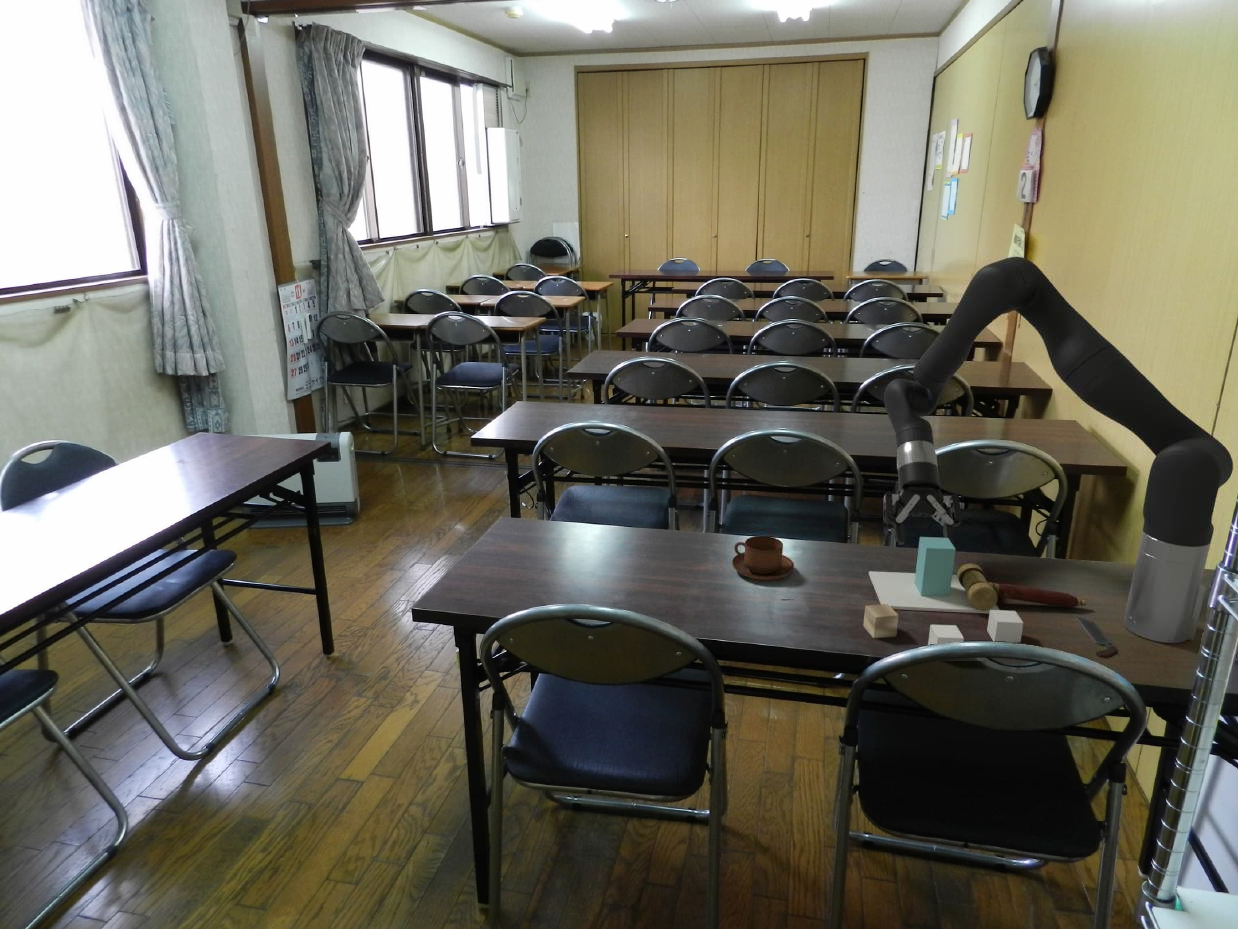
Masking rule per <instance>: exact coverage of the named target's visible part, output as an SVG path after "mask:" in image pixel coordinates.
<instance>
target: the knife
mask: <svg viewBox="0 0 1238 929" xmlns="http://www.w3.org/2000/svg"><path fill="white" fill-rule="evenodd" d="M1073 617H1074V619H1075V620H1076V621H1077V622H1078V623H1079V625H1080V626H1081V627H1082V628H1083V630H1084V631H1085V633H1086V634H1087V635H1088V637H1089V638H1090V639H1091V641H1092V642H1093V644H1096V645H1097V646H1098V645H1099V646H1105V647H1107V649H1102V650H1097V651H1096V652H1095V655H1096V657H1098V658H1103V659H1106V658H1107V659H1108V658H1111V657H1113V656H1115V655H1117V653H1118V648H1117V647H1116V646H1115V644H1114V643H1113V642H1112V641H1111V640H1109V638H1108V637H1107V636H1106V634H1105V633H1104V632H1103V630H1102V629H1101V628H1100V627H1099V626H1098V624H1097V623H1096V622H1095V621H1092V620H1090V619H1087V618H1085V617H1082V616H1080V615H1077V614H1073Z"/></svg>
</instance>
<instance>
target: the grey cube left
mask: <svg viewBox="0 0 1238 929" xmlns="http://www.w3.org/2000/svg"><path fill="white" fill-rule="evenodd" d="M987 623H988V624H987V627H986V628H987V629H986V630H987V633H988V634H989V636H990V638H991V639H992V641H993V642H994V641H1006V642H1020V643H1021V641H1022V634H1023V629H1024V622H1023V620H1022V619H1021V617H1020V615H1019V614H1018V613H1017V612H1016V610H1003V609H1002V610H1001V609H999V610H990V614H988V622H987Z"/></svg>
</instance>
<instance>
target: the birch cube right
mask: <svg viewBox="0 0 1238 929" xmlns="http://www.w3.org/2000/svg"><path fill="white" fill-rule="evenodd" d="M864 606H865V607H864V615H863V617H864V618H863V628H864V629H865V630H866V631H867V633H868V634H869V635H870V636H871V638H873V639H878V638H880V639H881V638H890V637H891V638H892V637H897V633H898V623H899V614H898V613H897V612H896V611H895V609H892V608H891V607H890V606H889V605H888V604H881V603H879V604H871V605H870V604H869V605H864Z"/></svg>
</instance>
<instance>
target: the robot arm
mask: <svg viewBox="0 0 1238 929" xmlns="http://www.w3.org/2000/svg"><path fill="white" fill-rule="evenodd" d="M1013 311H1015V312H1017V313H1018V314H1019V315H1020V316H1021V317H1023V318H1024V319H1025V320H1026V321H1027V322H1028V323H1029V324H1030V325H1031V326H1032V327H1033V328H1034V329H1035V330H1036V332H1037V333H1038V335H1039V336H1040V337H1041V339H1042V340H1043V343H1044V347H1045V349H1046V352H1047V354H1048V357H1049V358H1048V359H1049V361H1050V363H1051V365H1052V367H1053V369H1054V372H1055V373H1056V375H1057V376H1058V377H1059V378H1060V380H1061V381H1062V382H1063V383H1064V384H1065V385H1066V386H1067V387H1068V388H1069V389H1070V390H1071V391H1072V392H1073V393H1074V394H1075V395H1076V396H1077V397H1078V398H1079V399H1080V400H1081V401H1082V402H1084V403H1085V404H1086V405H1087V406H1089V407H1090V408H1091V409H1092V410H1095V411H1096V412H1098V413H1100V414H1101V415H1103V416H1105V417H1107V418H1108V419H1109V420H1112V421H1113V422H1115V423H1117V424H1119V425H1120V426H1122V427H1124V428H1125V429H1127V430H1129V431H1130V432H1131V433H1133V434H1134V435H1135V436H1136V437H1137V438H1138V439H1139V440H1140V441H1142V442H1143V443H1144V445H1145V446H1146V447H1147V448H1148V449H1149V450H1150V451H1151V452H1152V453H1153V454H1154V455H1155V458H1154V459H1153V461H1152V462H1151V466H1150V469H1149V473H1148V478H1147V483H1146V484H1147V485H1146V490H1145V496H1144V500H1143V507H1142V516H1143V525H1142V531H1141V535H1140V541H1139V545H1138V550H1137V553H1136V554H1137V555H1136V560H1135V565H1134V568H1133V569H1134V570H1133V573H1132V578H1131V583H1130V588H1129V593H1128V597H1127V603H1126V607H1125V610H1124V618H1123V621H1122V623H1123V625H1124V626H1125V628H1126V629H1128V631H1130V632H1132V633H1133V634H1135V635H1137V636H1139V637H1142V638H1144V639H1147V640H1149V641H1154V642H1159V643H1165V644H1178V643H1183V642H1185V641H1188V640H1192V641H1193V640H1195V637H1196V633H1197V632H1196V631H1197V628H1198V625H1199V620H1200V616H1201V612H1202V608H1203V603H1204V599H1205V597H1206V596H1205V595H1206V593H1207V592H1206V591H1207V588H1206V586H1205V585H1204V584H1203V583H1202V581H1203V577H1204V572H1205V569H1206V564H1207V560H1208V555H1209V552H1210V548H1211V543H1212V539H1213V535H1214V530H1215V529H1214V528H1215V527H1214V525H1213V524H1214V523H1212V522H1213V515H1214V511H1215V510H1214V509H1215V505H1216V501H1217V497H1218V493H1219V489H1220V488H1221V487H1222V486H1223V485H1225V484H1226V483H1227V482H1228V481H1229V479H1230V478H1231V476H1232V474H1233V470H1234V461H1233V458H1232V456H1231V453H1230V451H1229V450H1228V449H1227V447H1226V446H1225V445H1224V444H1223V443H1222V442H1221V441H1219V440H1218V439H1217V438H1215V437H1214V435H1211V434H1210V433H1209V432H1208V431H1206V430H1205V429H1204V428H1202V427H1201V426H1200V425H1199V424H1197V423H1196V422H1195V421H1193V420H1192V419H1191V418H1189V417H1188V416H1186V414H1184V413H1183V412H1182V411H1181V410H1179V408H1177V407H1176V406H1175V405H1174V404H1172V403H1171V402H1170V400H1169V399H1168V398H1166V396H1164V394H1163V393H1162V392H1161V391H1160V390H1159V389H1158V388H1157V387H1156V386H1155V385H1154V384H1153V383H1152V382H1151V381H1150V379H1148V378H1147V377H1146V375H1144V374H1143V373H1141V371H1140V370H1139V369H1137V367H1135V365H1134V364H1133V363H1132V362H1131V361H1130V360H1129V359H1128V358H1127V357H1126V356H1125V355H1124V354H1123V353H1122V352H1121V350H1119V349H1118V348H1117V347H1116V346H1115V345H1113V344H1112V342H1110V341H1109V340H1108V339H1106V337H1104V336H1103V334H1101V333H1100V332H1099V331H1097V329H1096V328H1095V327H1094V326H1093V325H1092V324H1091V323H1090V322H1089V321H1088V320H1087V319H1086V318H1085V317H1084V316H1082V315H1081V313H1080V312H1078V311H1077V310H1076V309H1075V308H1074V307H1073V306H1072V305H1071V304H1070V303H1069V302H1068V301H1067V300H1066V299H1065V297H1064V296H1063V295H1062V293H1060V292H1059V290H1058V289H1057V288H1056V287H1055V286H1054V284H1053V283H1052V282H1051V281H1050V280H1049V278H1048V277H1047V276H1046V274H1045V273H1044V272H1043V271H1042V270H1041V269H1040V268H1039V267H1038V265H1037V264H1035V263H1034V262H1032V261H1031V260H1029V259H1027V258H1025V257H1021V256H1010V257H1006V258H1003V259H1001V260H998V261H994V262H991V263H988V264H986V265H984V266H983V267H982V268H980V269H978V271H977V272H976V273H975V274H974V276H973V277H972V279H971V280H970V282H969V284H968V286H967V287H966V289H965V291H964V293H963V294H962V297H961V299H960V300H959V302H958V305H957V306H956V308H955V309H954V311H953V313H952V314H951V317H950V318H949V320H948V321H947V323H946V324H945V325H944V327H943V328H942V330H941V331H940V333H939V334H938V336H936V338H935V339H934V341H933V342H932V343H931V345H930V346H929V347H928V348H927V349H926V350H925V352H924V353H923V354H922V356H921V357H920V359H919V360H918V361H917V362H916V363H915V365H914V367H913V370H912V373H913V377H914V379H915V380H916V381H914V380H910V379H905V378H896V379H893V380H891V381H890V382H889V383H888V384H887V386H886V387H885V390H884V393H883V404H884V408H885V410H886V413H887V415H888V418H889V419H890V420H889V421H890V422H891V425H892V427H893V430H894V432H895V439H896V449H897V452H896V453H897V454H896V469H897V477H898V489H899V490H898V491H899V494H897V493H892V492H891V491H886V492H885V494H884V496H883V500H882V501H883V504H882V505H883V508H882V509H883V512H882V513H883V516H882V517H883V519H882V520H883V521H882V522H883V523H884V524H885V525H891V526H893V529H894V530H893V531H894V540H895V542H896V543H898V546H903V545H904V544H905V541H906V538H905V537H906V536H905V526H904V523H903V522H904V521H905V520H906V518H907V517H908V516H909V515H910V516H911V517H913V518H919V517H922V518H930V517H931V518H933V519H934V520H935V522H938V523H939V524H940V525H941V526H942V527H943V528H942V533H943V538H948V539H949V540H950V542H951V543H952V544H953V543H954V541H955V533H954V532H955V531H954V527H955V528H957V527H959V526H960V525H961V523H962V522H964V521H963V518H964V517H963V513H962V507H961V503H960V497H959V495H958V494H957V493H953V494H952V495H943V494H942V492H941V486H940V475H939V468H938V458H937V452H936V449H935V442H934V434H933V428H932V424H931V422H929V421H928V420H926V419H925V418H923V417H926V416H928V415H930V414H932V413H933V412H934V411H935V410H936V408H937V406H938V403H939V401H940V398H941V396H942V394H943V391H944V390H945V387H946V385H947V383H948V382H949V381H950V379H951V378H952V377H953V376H954V375H955V374H956V373H957V371H959V369H960V368H962V366H963V364H964V363H965V362H966V360H967V358H968V357H969V354H970V351H971V350H972V346H973V344H974V342H975V340H976V339H977V337H978V336H979V335H980V333H982V332H983V330H984V329H985V328H987V327H988V326H989V325H990V324H991V323H993V322H994V321H995V320H997V319H998V318H999V317H1000V316H1002V315H1005V314H1008V313H1011V312H1013ZM896 502H898V503H899V504H900V505H901V507H902V508H903V509H902V510H901V511H900V513H899V514H898V515H897V516H895V515H893V506H894V505H895V504H896ZM943 503H944V504H946V507H947V508H949V512H950V516H949V514H947V511H946V510H945V508H944V507H943V506H942V504H943Z"/></svg>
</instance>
